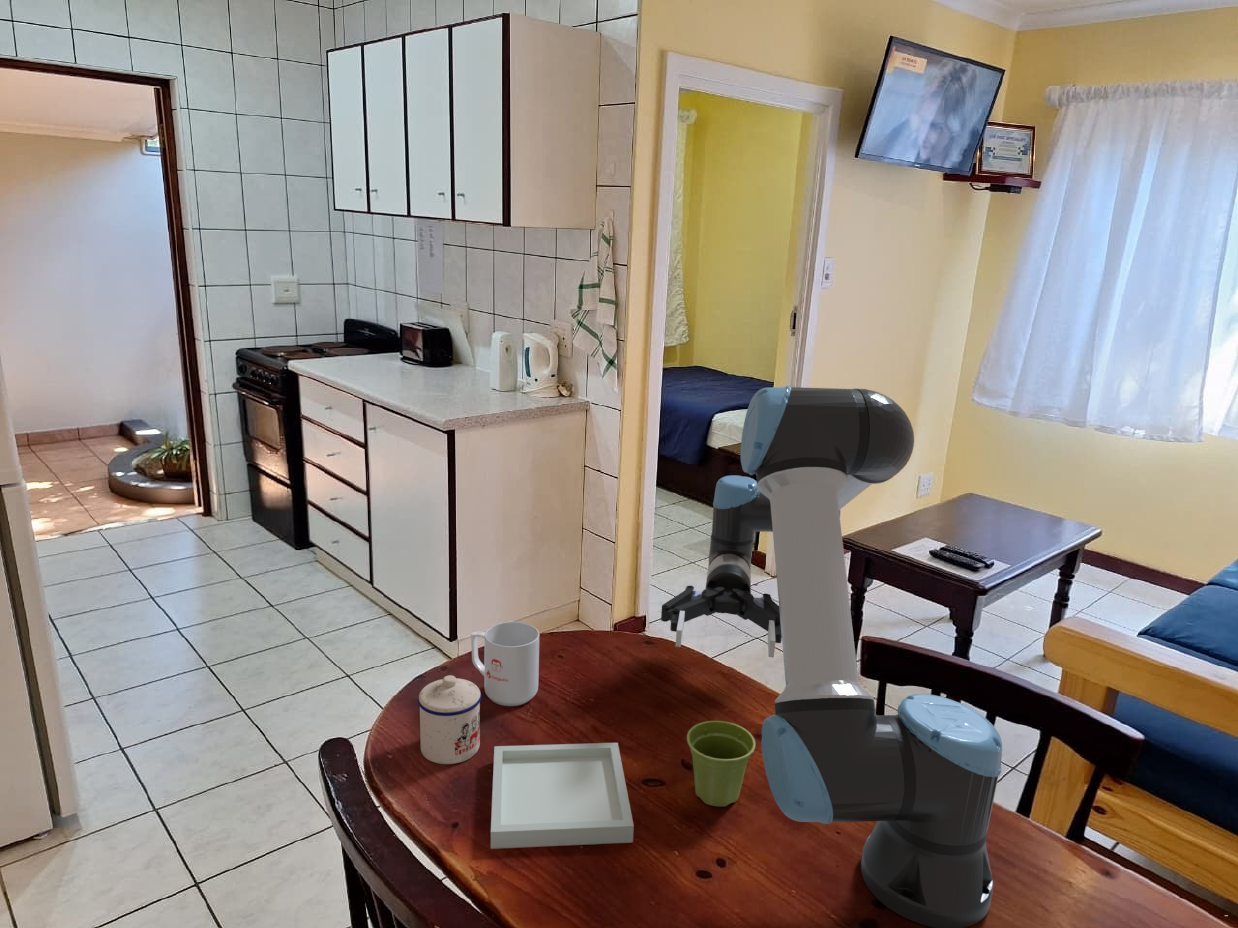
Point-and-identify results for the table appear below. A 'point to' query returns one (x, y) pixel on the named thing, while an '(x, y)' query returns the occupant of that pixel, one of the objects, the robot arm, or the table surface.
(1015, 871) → the table surface
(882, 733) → the robot arm
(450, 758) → the teacup with lid
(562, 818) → the tray
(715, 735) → the plant pot
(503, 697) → the mug
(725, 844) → the table surface
